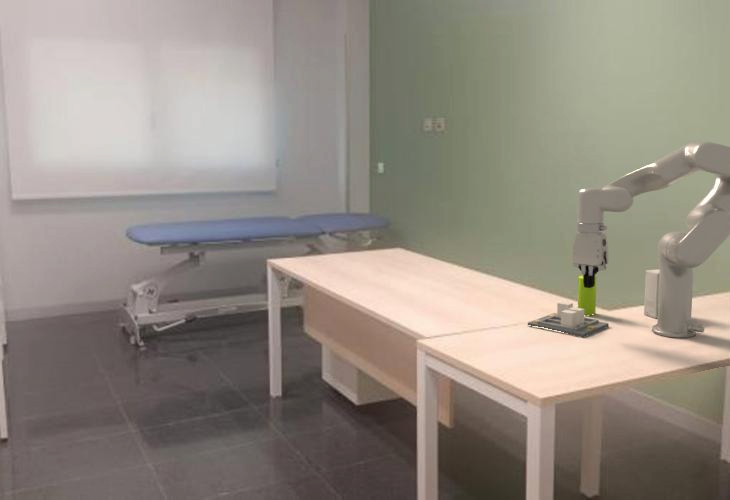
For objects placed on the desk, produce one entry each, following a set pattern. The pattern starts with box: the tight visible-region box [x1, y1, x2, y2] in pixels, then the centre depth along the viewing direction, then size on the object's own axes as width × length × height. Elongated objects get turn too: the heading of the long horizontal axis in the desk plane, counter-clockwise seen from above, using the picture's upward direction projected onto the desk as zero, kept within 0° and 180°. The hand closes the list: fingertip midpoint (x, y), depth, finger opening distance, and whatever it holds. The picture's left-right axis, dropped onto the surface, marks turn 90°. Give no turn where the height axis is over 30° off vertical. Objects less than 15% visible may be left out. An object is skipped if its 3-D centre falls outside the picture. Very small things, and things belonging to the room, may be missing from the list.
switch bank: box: [527, 312, 610, 338], centre depth 223 cm, size 20×16×2 cm
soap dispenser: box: [577, 266, 597, 315], centre depth 236 cm, size 6×7×20 cm
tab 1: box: [556, 301, 574, 317], centre depth 228 cm, size 4×3×5 cm
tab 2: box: [561, 310, 577, 328], centre depth 218 cm, size 4×3×5 cm
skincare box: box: [643, 269, 659, 319], centre depth 232 cm, size 8×7×16 cm
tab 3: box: [568, 306, 585, 325], centre depth 221 cm, size 4×3×5 cm
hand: (588, 287), depth 212 cm, fingers closed
